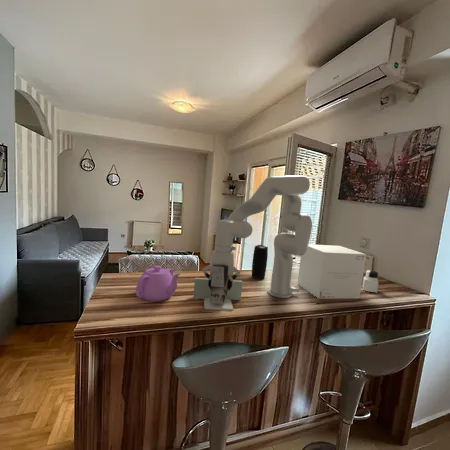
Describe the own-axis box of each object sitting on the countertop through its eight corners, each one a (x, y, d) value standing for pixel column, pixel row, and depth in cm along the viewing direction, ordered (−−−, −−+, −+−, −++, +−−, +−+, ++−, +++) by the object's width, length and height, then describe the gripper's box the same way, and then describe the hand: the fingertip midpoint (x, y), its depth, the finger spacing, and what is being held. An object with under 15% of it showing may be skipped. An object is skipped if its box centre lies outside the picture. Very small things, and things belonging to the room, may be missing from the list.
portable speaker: (251, 279, 156) (255, 246, 154) (250, 274, 165) (253, 244, 163) (266, 280, 156) (269, 248, 154) (264, 275, 165) (267, 245, 163)
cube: (317, 299, 135) (324, 252, 132) (297, 284, 155) (302, 243, 153) (359, 299, 141) (366, 254, 138) (334, 285, 161) (339, 245, 159)
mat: (230, 301, 121) (230, 299, 121) (232, 310, 111) (233, 308, 111) (204, 299, 120) (204, 297, 120) (204, 309, 110) (204, 307, 110)
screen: (240, 299, 124) (242, 280, 123) (240, 300, 123) (242, 281, 122) (193, 296, 122) (194, 277, 121) (193, 297, 121) (194, 278, 120)
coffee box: (223, 305, 110) (227, 267, 108) (209, 302, 111) (212, 265, 110) (227, 297, 119) (231, 262, 117) (214, 294, 120) (217, 260, 119)
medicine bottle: (375, 290, 157) (378, 270, 155) (376, 294, 150) (380, 273, 149) (362, 287, 160) (365, 268, 158) (362, 291, 153) (365, 271, 152)
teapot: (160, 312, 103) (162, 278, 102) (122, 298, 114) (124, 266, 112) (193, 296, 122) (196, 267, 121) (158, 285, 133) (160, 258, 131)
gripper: (242, 248, 117) (238, 286, 119) (202, 245, 116) (199, 284, 118) (244, 252, 110) (240, 293, 112) (203, 249, 108) (199, 290, 110)
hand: (219, 288), depth 115 cm, fingers closed on coffee box, 7 cm apart
